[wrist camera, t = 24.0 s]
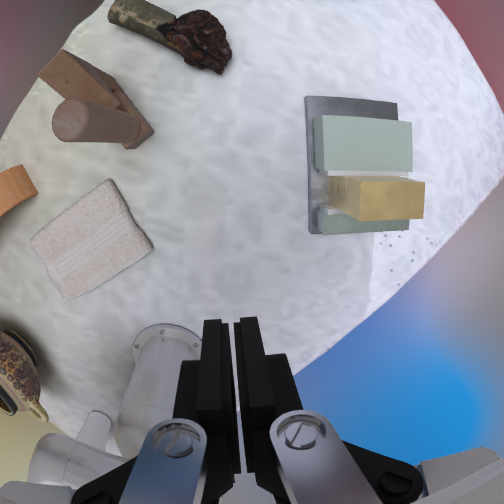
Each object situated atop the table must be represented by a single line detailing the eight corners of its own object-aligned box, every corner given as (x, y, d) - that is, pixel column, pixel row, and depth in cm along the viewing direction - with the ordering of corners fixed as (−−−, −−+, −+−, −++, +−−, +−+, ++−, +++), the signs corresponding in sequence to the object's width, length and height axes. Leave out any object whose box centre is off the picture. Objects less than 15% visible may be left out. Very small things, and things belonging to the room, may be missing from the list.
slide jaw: (396, 173, 37) (412, 176, 33) (315, 173, 37) (324, 175, 33) (395, 123, 35) (411, 122, 31) (312, 118, 34) (322, 115, 31)
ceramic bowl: (82, 372, 47) (54, 430, 32) (49, 402, 49) (24, 449, 35) (-6, 279, 39) (-55, 317, 25) (-27, 324, 42) (-64, 361, 28)
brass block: (329, 203, 38) (359, 221, 29) (328, 172, 37) (360, 181, 27) (382, 201, 39) (423, 218, 29) (383, 173, 37) (425, 182, 28)
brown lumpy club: (113, 26, 29) (98, 12, 23) (143, -10, 27) (133, -27, 22) (215, 82, 34) (213, 73, 28) (247, 45, 32) (250, 30, 27)
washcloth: (33, 238, 38) (23, 244, 36) (112, 173, 37) (104, 175, 34) (72, 299, 42) (64, 308, 39) (156, 246, 41) (151, 254, 38)
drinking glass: (93, 403, 49) (70, 458, 35) (120, 420, 51) (103, 476, 37) (81, 415, 51) (60, 466, 36) (107, 431, 52) (91, 483, 38)
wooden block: (112, 75, 32) (41, 37, 15) (155, 131, 35) (98, 119, 18) (92, 93, 32) (13, 69, 15) (134, 150, 36) (65, 153, 19)
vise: (391, 226, 41) (410, 237, 36) (308, 231, 41) (320, 243, 36) (391, 104, 36) (412, 100, 30) (304, 97, 35) (315, 89, 30)
